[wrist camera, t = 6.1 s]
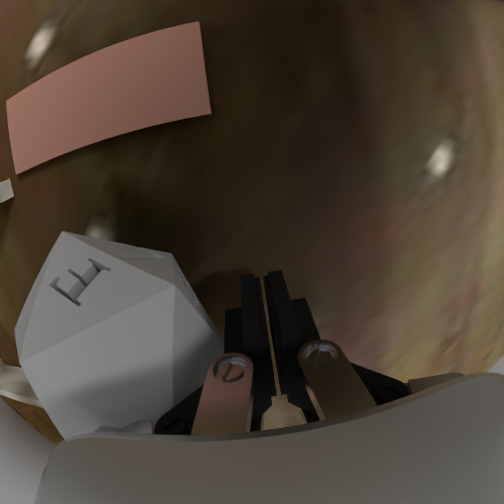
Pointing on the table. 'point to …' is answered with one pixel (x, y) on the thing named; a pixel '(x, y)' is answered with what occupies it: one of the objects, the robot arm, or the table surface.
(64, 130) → the mat
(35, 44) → the table surface
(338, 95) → the table surface
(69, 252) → the die
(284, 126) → the table surface
